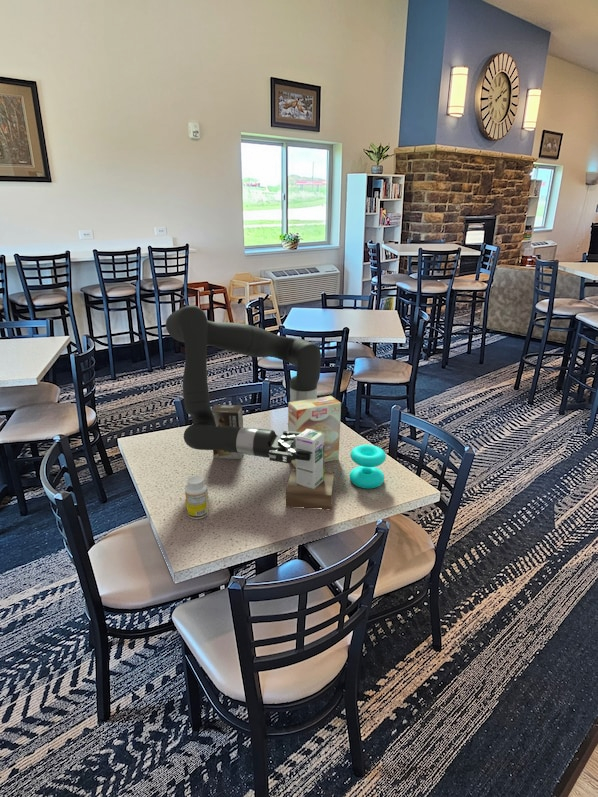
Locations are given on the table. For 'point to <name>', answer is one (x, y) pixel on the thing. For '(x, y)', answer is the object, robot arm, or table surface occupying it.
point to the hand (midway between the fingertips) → (314, 449)
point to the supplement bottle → (196, 498)
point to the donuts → (367, 466)
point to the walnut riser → (310, 493)
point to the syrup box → (313, 469)
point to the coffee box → (227, 417)
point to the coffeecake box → (318, 422)
